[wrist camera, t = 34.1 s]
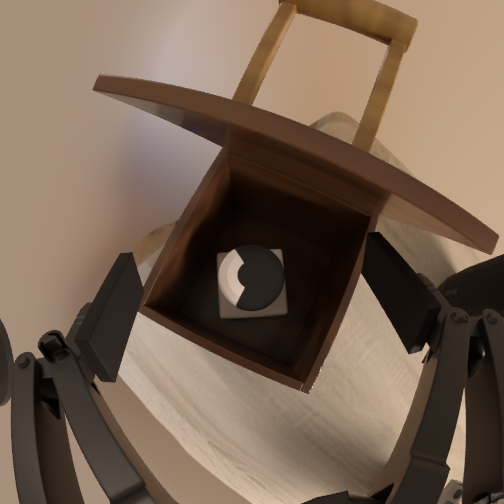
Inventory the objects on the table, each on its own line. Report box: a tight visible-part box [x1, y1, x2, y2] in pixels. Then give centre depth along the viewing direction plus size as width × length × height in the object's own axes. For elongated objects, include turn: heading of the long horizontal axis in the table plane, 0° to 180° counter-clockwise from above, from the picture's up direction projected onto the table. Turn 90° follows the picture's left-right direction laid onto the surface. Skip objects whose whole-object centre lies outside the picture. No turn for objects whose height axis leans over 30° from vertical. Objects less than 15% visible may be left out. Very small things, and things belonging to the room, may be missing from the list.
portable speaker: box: [438, 254, 504, 321], centre depth 28 cm, size 9×9×20 cm
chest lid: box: [93, 0, 499, 255], centre depth 16 cm, size 18×17×9 cm
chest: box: [138, 147, 379, 394], centre depth 31 cm, size 18×17×14 cm
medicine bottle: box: [217, 244, 288, 320], centre depth 31 cm, size 7×7×12 cm
